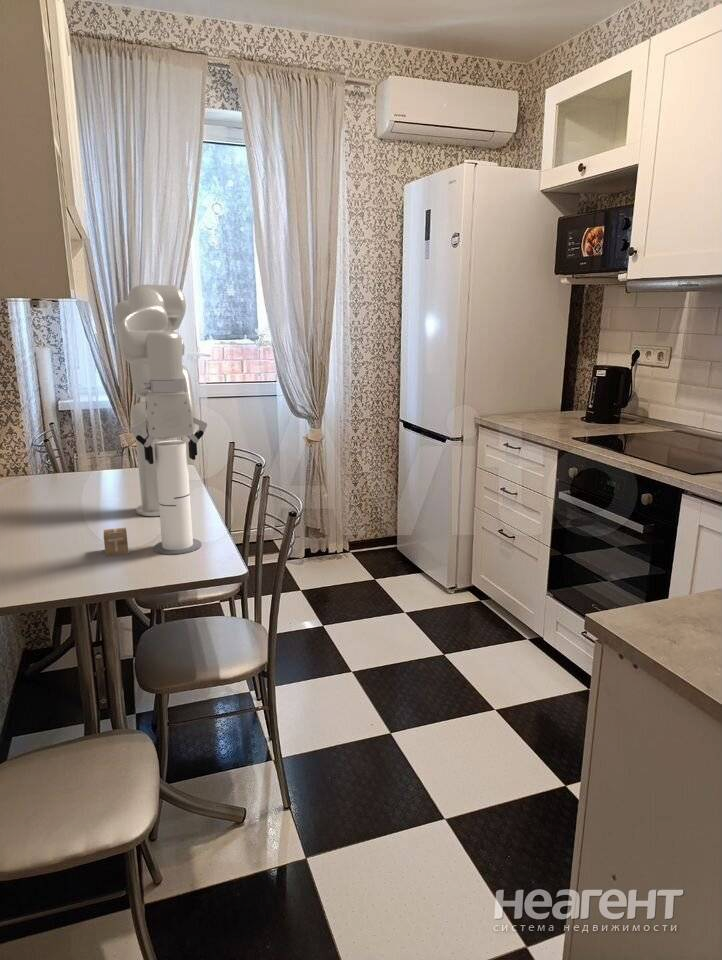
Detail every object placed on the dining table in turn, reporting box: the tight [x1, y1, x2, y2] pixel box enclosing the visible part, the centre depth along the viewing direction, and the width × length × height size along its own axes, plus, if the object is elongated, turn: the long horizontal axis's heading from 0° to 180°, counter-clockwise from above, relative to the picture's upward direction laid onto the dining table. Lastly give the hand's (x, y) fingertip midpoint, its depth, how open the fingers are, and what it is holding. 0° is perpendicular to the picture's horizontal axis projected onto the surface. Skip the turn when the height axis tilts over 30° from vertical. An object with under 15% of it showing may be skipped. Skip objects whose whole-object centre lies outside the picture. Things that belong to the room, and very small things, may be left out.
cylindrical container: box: [154, 439, 194, 550], centre depth 151 cm, size 7×7×25 cm
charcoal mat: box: [153, 538, 202, 556], centre depth 154 cm, size 11×11×1 cm
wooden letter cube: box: [103, 527, 129, 557], centre depth 150 cm, size 5×5×5 cm
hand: (171, 460), depth 149 cm, fingers open, 9 cm apart
